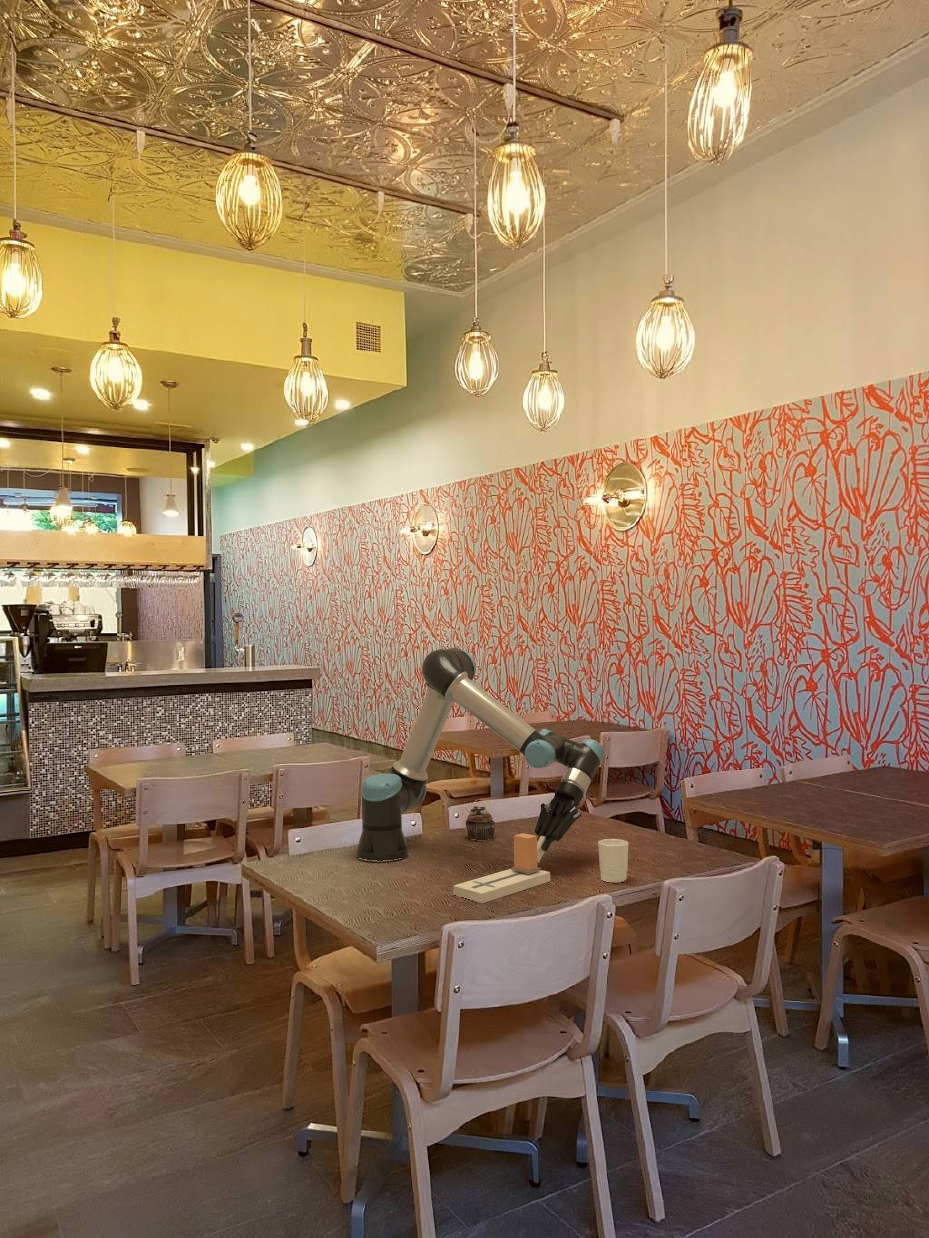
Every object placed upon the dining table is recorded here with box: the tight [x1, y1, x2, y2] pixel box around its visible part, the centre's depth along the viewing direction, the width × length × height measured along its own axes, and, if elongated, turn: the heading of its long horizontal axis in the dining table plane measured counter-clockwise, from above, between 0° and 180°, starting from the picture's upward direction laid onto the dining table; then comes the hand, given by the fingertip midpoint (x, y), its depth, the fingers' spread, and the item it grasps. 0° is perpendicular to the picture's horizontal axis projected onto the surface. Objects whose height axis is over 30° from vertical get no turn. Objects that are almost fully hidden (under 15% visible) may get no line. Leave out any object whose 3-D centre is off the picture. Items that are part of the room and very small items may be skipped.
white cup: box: [597, 838, 629, 883], centre depth 237 cm, size 8×8×10 cm
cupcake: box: [465, 805, 497, 840], centre depth 287 cm, size 10×10×10 cm
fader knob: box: [510, 832, 542, 874], centre depth 238 cm, size 5×6×9 cm
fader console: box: [452, 868, 551, 904], centre depth 231 cm, size 26×10×2 cm, turn 135°
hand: (534, 859), depth 240 cm, fingers closed
